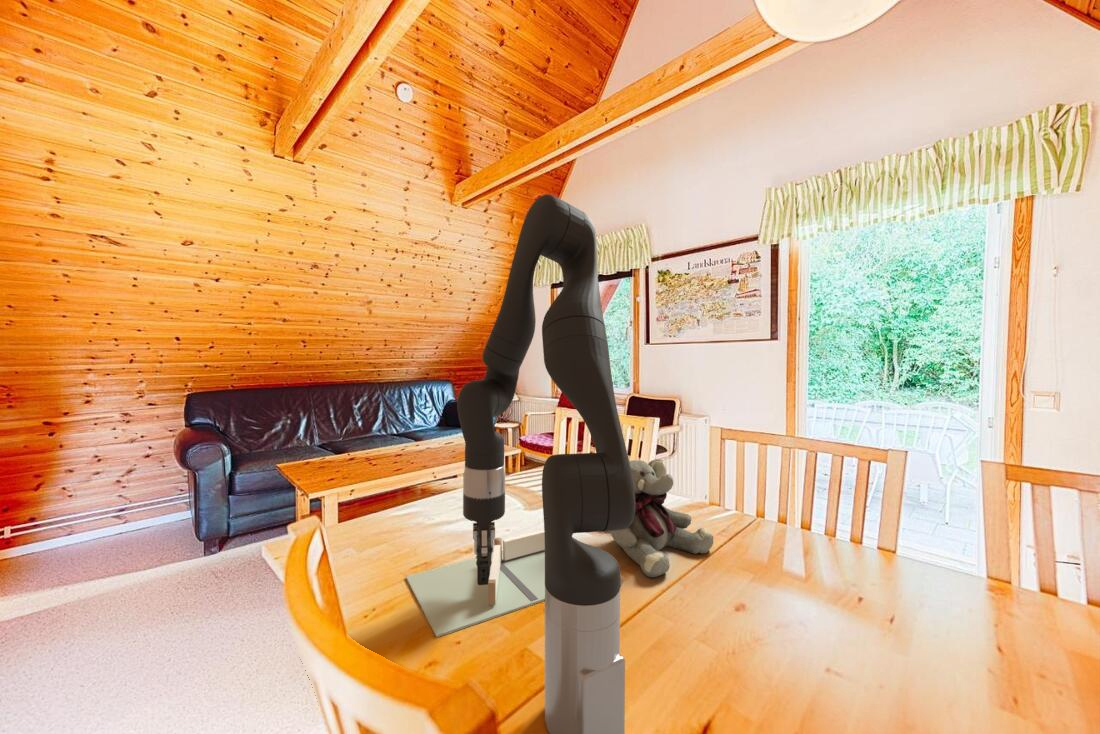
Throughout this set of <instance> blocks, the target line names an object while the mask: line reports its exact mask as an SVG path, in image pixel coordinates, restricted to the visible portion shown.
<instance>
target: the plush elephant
mask: <svg viewBox="0 0 1100 734" xmlns="http://www.w3.org/2000/svg"><path fill="white" fill-rule="evenodd" d="M629 463H630V468H631V472H632V477H633V483H634V490H635V515H634V520H633V522H632V524H631V525H630V526H629V527H628V528H627V529H623V530H615V531H609V532H610V534H611V538H612V539H613V540H614V542H615V543H617V545H618V547H620V548H621V549H623V551H624V553H625V554H626V555H627V556H628V557H630V559H631V560H633V561H634V562H635V563H636V564H638V565H639V567H640V568H641V572H643V573H644V575H645V576H646V577H648V578H652V579H653V578H656V577H660V576H662V575H664V574H666V573H667V572H668V571H669V570H670V565H671V564H670V559H669V557H668V556H667V555H666V553H664V552H663V551H661V550H662V549H663V548H664V547H666V548H667V547H669V548H674V549H678V548H679V550H682V551H685V552H687V553H689V554H690V553H691V554H694V555H697V553H702V554H701V555H704V554H703V553H705V554H706V553H708V552H709V551H710V549H712V547H713V545H714V536H713V534H712V532H711V531H710V530H709V529H707V528H705V527H700V528H699V529H697V530H696V531H695V532H691V531H689V530H687V528H688V527H689V526H690V525H691V524H692V516H691V515H690V514H688V513H685V512H679V511H674V510H671V509H669V508H667V507H666V506H664V505H663V504H665V500H666V499H667V496H668V492H670V491H671V490H672V488H673V486H674V478H673V476H672V475H671V474H669V473H667V467H666V465H665V464H664V460H663V459H661V458H655V459H652V460H650V461H649V462H648V463H647V462H646V461H644V460H639V459H638V460H634V459H633V460H629Z"/></svg>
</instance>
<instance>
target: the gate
mask: <svg viewBox="0 0 1100 734" xmlns="http://www.w3.org/2000/svg"><path fill="white" fill-rule="evenodd" d="M500 564H501V557H500V545H495V546H494V551H493V558H492V564H491V570H490V575H489V581H488V605H495V603H496V596H497V588H498V580H499V572H500Z"/></svg>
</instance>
